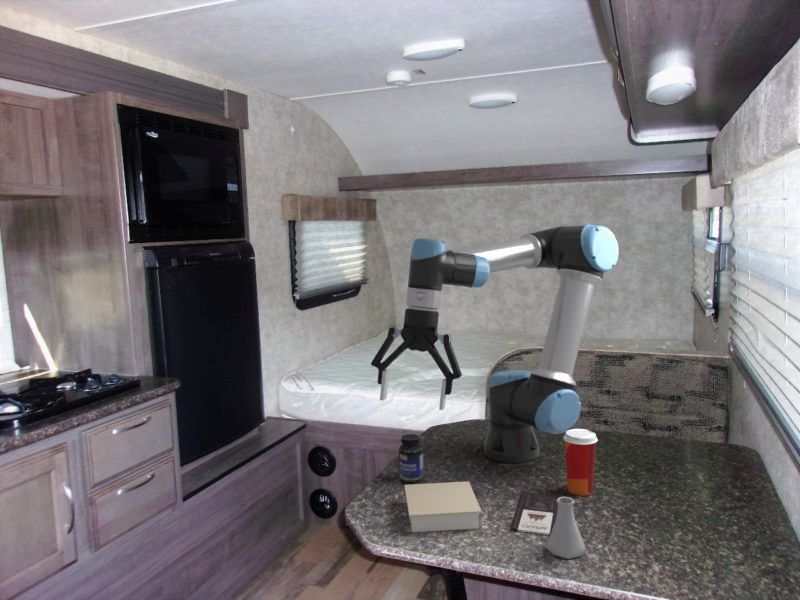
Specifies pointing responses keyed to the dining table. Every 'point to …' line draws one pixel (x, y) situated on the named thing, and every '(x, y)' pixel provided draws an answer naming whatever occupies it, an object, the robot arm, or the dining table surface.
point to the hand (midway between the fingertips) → (412, 404)
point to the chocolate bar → (536, 513)
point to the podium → (442, 506)
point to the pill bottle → (410, 459)
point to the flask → (565, 532)
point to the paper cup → (580, 460)
